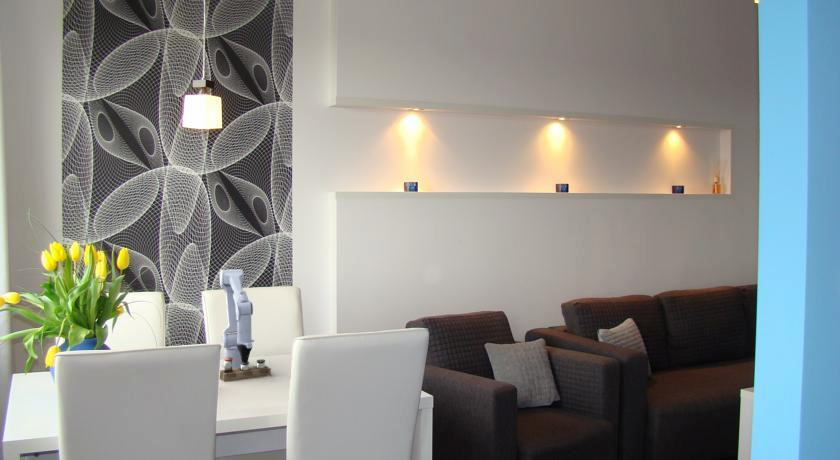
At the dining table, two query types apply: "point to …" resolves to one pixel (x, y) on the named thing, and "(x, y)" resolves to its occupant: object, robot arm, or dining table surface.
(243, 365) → the plunger
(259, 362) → the plunger
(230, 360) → the plunger red
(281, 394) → the dining table surface
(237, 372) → the jig
